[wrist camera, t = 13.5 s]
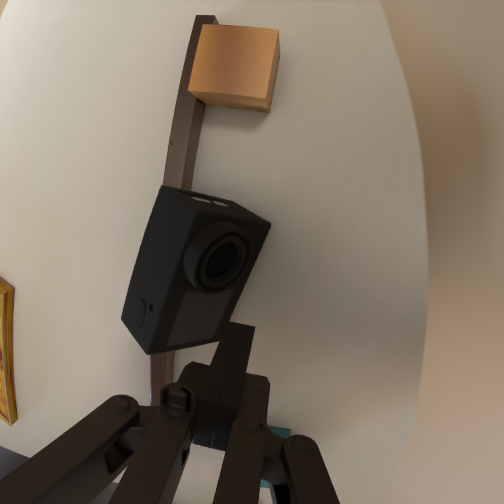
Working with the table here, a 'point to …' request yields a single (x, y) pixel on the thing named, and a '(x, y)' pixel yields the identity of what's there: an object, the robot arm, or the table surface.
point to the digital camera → (190, 269)
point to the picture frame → (6, 355)
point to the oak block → (236, 67)
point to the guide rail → (180, 173)
